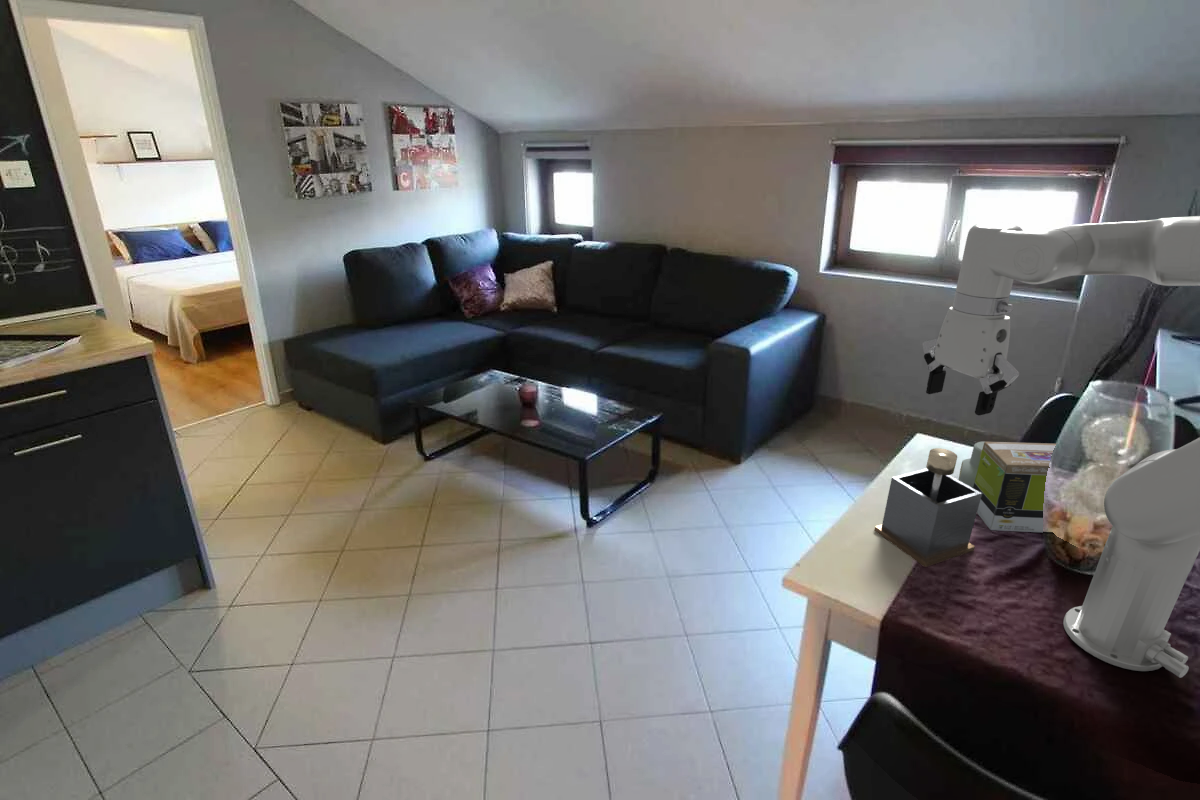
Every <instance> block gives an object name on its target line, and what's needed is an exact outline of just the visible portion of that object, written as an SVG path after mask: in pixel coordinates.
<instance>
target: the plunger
mask: <svg viewBox="0 0 1200 800" xmlns="http://www.w3.org/2000/svg"><path fill="white" fill-rule="evenodd" d="M957 459H958V455H957V454H956V453H955V452H953V451H951V450H949V449H945V448H939V447H936V448H931V449H930V450H929V452H928V458H927V461H926V465H925V466H926V468H927V469H928V470H929V471H931V472H933V473H935V475H934V480H933V484H932V488H931V492H930V497H929V498H931V499H933V500H934V501H936V499H937V495H938V491H939V487H940V483H941V479H942V475H950V476H952V475H953V474H954V473H955V469H956V464H957ZM926 468H925V469H926Z"/></svg>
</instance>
